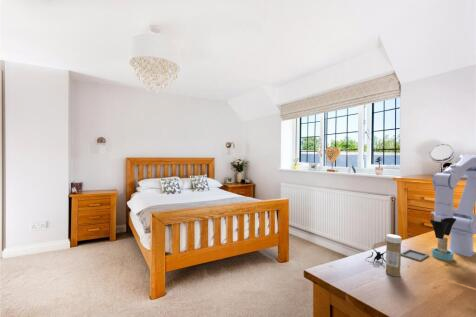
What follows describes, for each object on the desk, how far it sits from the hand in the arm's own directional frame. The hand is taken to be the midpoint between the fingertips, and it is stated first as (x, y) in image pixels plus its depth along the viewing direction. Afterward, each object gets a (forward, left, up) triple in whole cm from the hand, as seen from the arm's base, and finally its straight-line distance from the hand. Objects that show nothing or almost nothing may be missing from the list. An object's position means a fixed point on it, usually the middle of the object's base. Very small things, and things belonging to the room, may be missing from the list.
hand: (442, 236), depth 100 cm
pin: (0, 0, -8) cm, 8 cm away
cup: (0, 0, -9) cm, 9 cm away
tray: (+8, -7, -9) cm, 14 cm away
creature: (+26, -13, -9) cm, 31 cm away
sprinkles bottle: (+31, -5, -9) cm, 32 cm away
